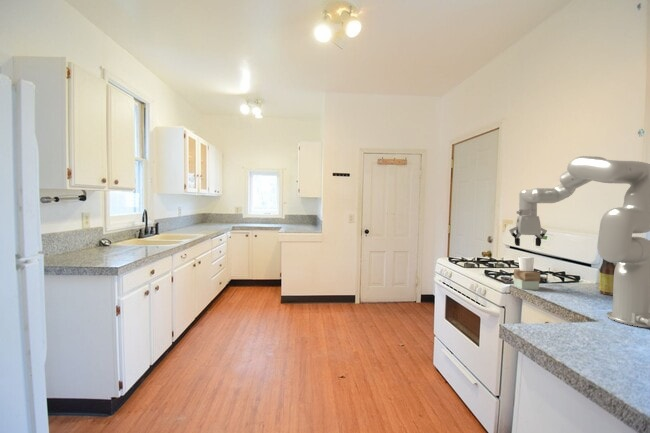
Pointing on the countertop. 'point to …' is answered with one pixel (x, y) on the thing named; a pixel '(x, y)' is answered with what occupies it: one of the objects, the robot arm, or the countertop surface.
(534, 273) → the upper block
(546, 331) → the countertop surface
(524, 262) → the shot glass
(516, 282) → the lower block
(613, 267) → the sauce bottle
